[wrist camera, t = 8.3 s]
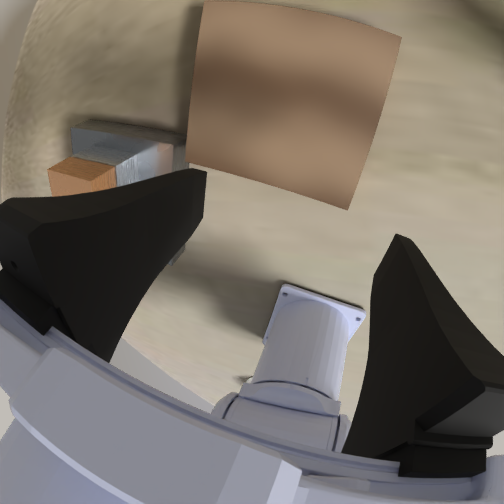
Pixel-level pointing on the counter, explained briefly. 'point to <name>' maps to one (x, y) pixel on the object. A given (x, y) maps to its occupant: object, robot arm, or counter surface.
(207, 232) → the counter surface
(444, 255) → the counter surface
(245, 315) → the counter surface
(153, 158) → the stand
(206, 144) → the stand
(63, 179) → the block
